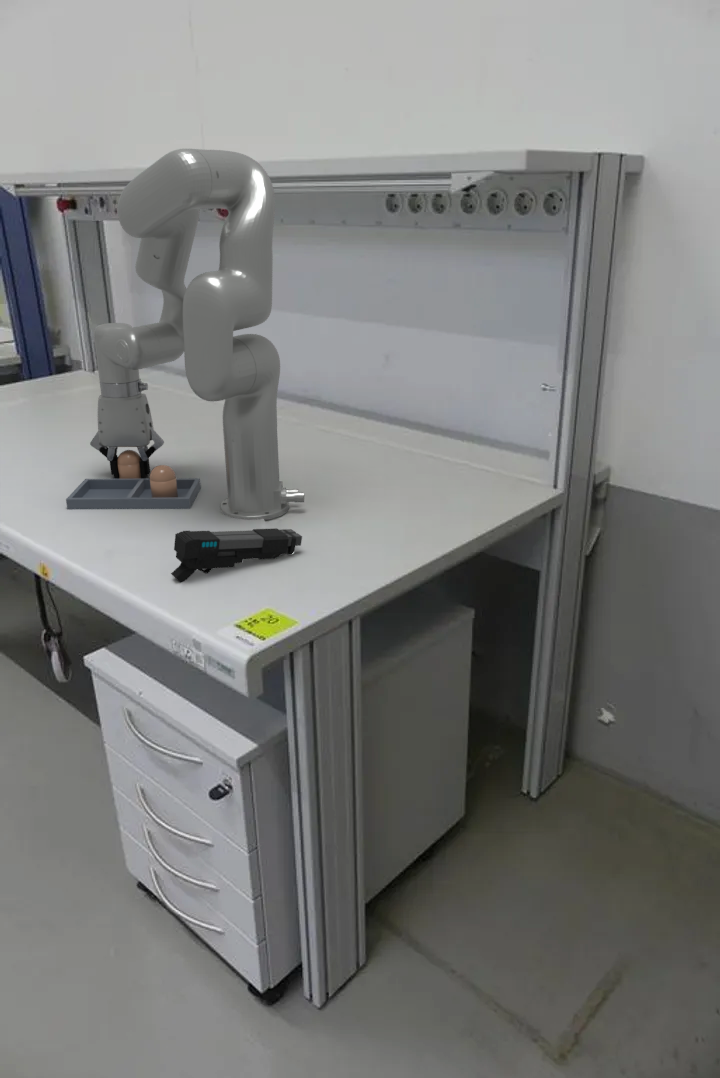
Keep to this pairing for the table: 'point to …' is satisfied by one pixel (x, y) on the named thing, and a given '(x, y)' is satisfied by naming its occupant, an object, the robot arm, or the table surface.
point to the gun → (229, 548)
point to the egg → (129, 465)
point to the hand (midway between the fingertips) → (131, 477)
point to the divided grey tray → (130, 494)
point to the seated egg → (163, 482)
